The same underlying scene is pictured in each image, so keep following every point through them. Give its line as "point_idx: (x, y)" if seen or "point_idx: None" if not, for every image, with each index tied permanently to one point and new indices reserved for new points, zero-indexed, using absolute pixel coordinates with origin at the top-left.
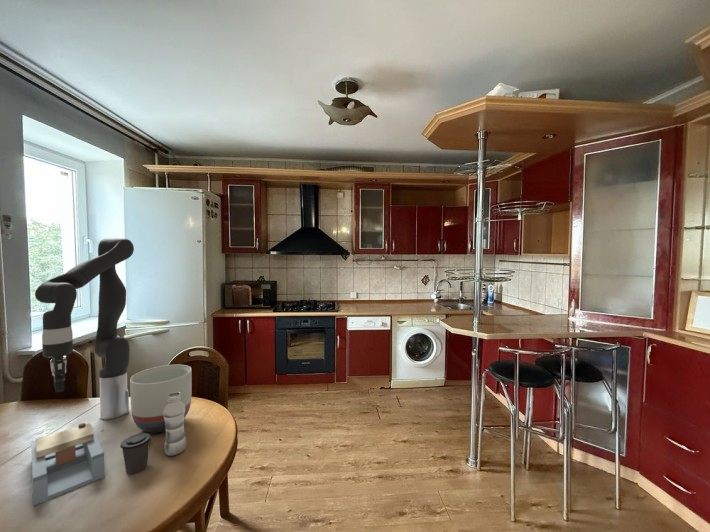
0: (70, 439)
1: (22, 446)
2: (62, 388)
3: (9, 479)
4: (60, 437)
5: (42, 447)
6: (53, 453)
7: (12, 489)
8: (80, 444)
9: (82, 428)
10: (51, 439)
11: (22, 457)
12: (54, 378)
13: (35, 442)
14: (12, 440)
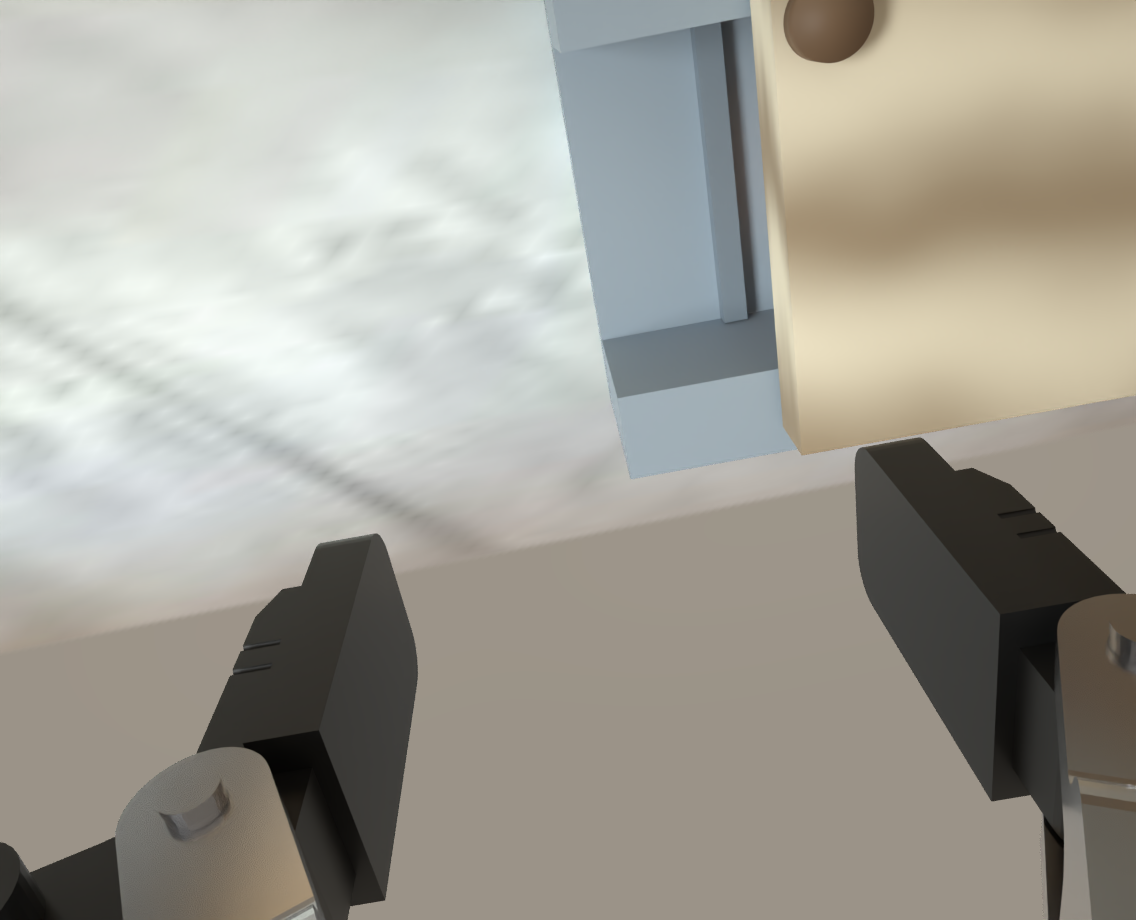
0: (1125, 118)
1: (264, 515)
2: (1020, 498)
3: (809, 476)
4: (964, 233)
5: (1077, 363)
6: (647, 266)
7: (979, 429)
8: (621, 49)
9: (887, 7)
10: (935, 314)
11: (489, 473)
12: (389, 844)
13: (678, 443)
14: (89, 603)
